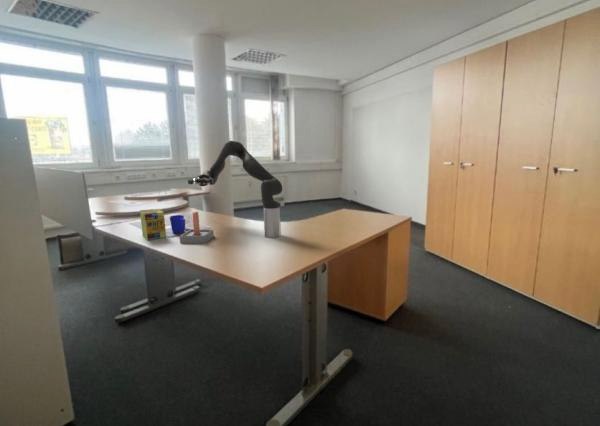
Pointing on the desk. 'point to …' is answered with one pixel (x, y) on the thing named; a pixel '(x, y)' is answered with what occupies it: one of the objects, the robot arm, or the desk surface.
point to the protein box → (153, 224)
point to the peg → (196, 223)
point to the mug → (177, 223)
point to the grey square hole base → (190, 237)
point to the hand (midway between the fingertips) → (198, 182)
